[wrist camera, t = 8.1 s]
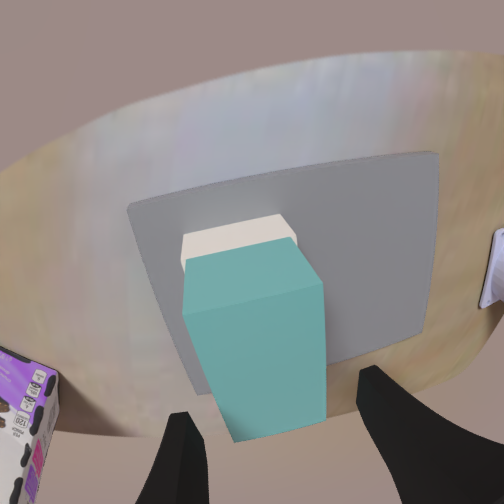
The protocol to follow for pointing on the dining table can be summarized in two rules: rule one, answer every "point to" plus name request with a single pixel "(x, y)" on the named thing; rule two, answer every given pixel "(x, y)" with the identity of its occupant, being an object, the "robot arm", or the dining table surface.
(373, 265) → the baseplate
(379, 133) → the dining table surface
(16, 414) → the candy box
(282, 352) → the teal brick
